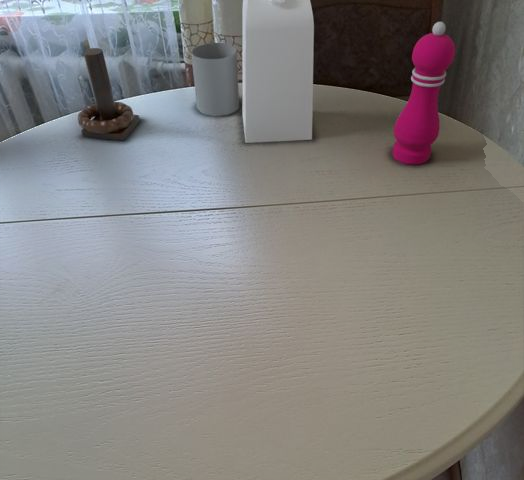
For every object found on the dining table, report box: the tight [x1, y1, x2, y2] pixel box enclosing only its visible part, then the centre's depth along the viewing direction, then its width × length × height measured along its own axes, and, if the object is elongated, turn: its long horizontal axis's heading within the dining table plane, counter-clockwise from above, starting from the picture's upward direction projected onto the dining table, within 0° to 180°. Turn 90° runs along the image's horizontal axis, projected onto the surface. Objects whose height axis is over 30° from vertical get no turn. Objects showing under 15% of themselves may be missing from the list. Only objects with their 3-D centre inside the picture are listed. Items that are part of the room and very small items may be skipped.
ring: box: [77, 101, 135, 133], centre depth 92 cm, size 10×10×2 cm
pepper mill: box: [391, 21, 456, 166], centre depth 78 cm, size 7×7×20 cm
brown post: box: [81, 47, 141, 142], centre depth 89 cm, size 8×8×13 cm
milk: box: [241, 0, 315, 144], centre depth 84 cm, size 12×12×26 cm
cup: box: [190, 42, 240, 117], centre depth 96 cm, size 8×8×10 cm
